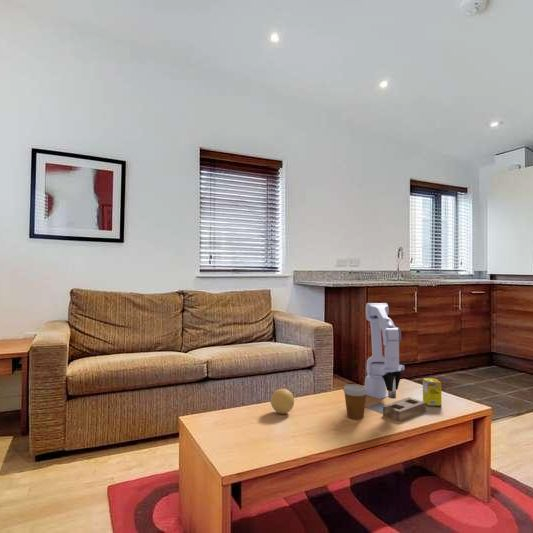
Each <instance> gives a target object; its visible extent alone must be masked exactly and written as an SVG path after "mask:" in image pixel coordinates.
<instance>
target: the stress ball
mask: <svg viewBox="0 0 533 533" xmlns="http://www.w3.org/2000/svg"><path fill="white" fill-rule="evenodd" d="M270 405H271V407H272V408H273V410H274V411H275V412H276V413H278V414H280V415H286V414H287V413H289V412H291V410H293V408H294V405H295V397H294V395H293V393H292V392H291V391H290V390H289V389H287V388H278V389H276V390H274V391H273V393H272V394H271V398H270Z"/></svg>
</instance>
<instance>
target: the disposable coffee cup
mask: <svg viewBox="0 0 533 533" xmlns="http://www.w3.org/2000/svg"><path fill="white" fill-rule="evenodd" d="M343 393H344V399H345V408H346V416H347V417H348V418H349V419H351V420H363V418H364V417H365V416H364V415H365V409H366V408H365V407H366V397H367V395H366V394H367V390H366V387H365V385H361V384H353V383H352V384H350V383H349V384H345V385H344V388H343Z"/></svg>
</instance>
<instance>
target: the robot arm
mask: <svg viewBox="0 0 533 533" xmlns="http://www.w3.org/2000/svg"><path fill="white" fill-rule="evenodd" d="M389 311H390V307H389V304H388V303H387V302H380V303H379V302H367V303H366V304H365V318H366V321H368V322H369V325H370V336H371V354H372V355H371V356H370V357H369V358H367V360H366V368H365V370H366V374H367V375H366V376H365V379H364V387H366V390H367V394H366V396H369V397H372V398H375V399H378V400H382V399H385V398H389V397H388V393H387V392H388V391H392V389H393V381H394V378H395V376H396V391H397V390H398V389H399V385H400V382H401V379H402V377H403V375H404V372H403V371H405V365H403V364H400V342H401V340H402V333H401V332H402V331H401V329H400V327H398V326H396V325H395V323H394V322H393V320H392V318H390V317H388V315H389ZM382 340H383V345H382ZM383 346H384V355H383Z"/></svg>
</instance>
